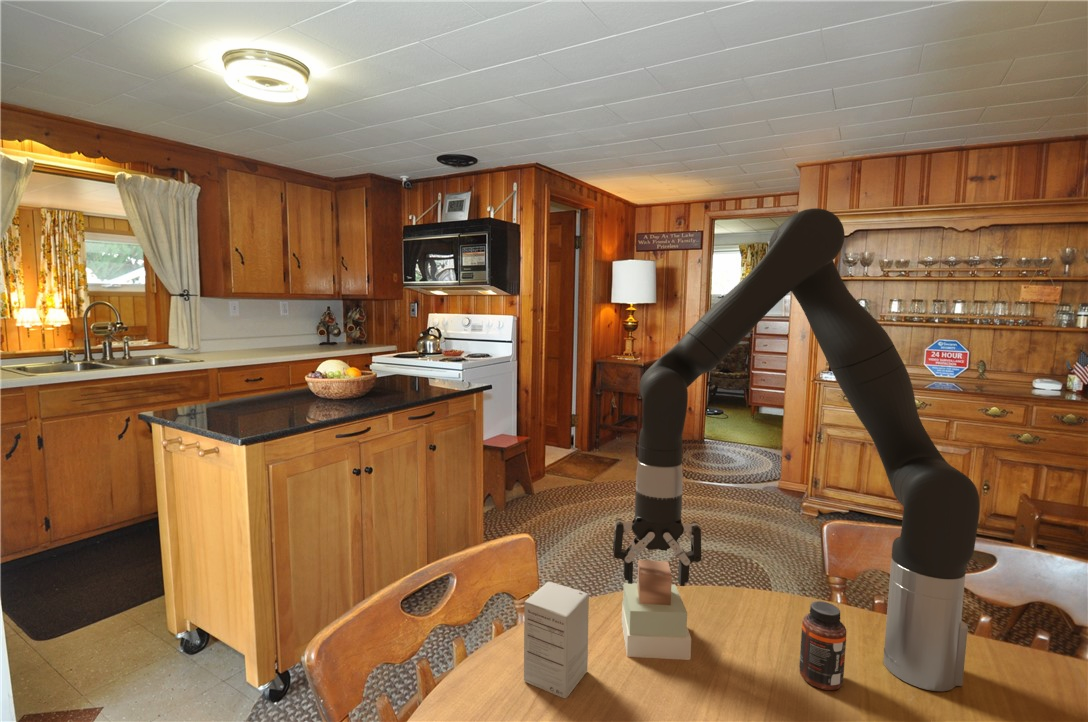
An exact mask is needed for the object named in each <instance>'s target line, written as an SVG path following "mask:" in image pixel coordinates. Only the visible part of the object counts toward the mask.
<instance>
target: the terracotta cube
mask: <svg viewBox="0 0 1088 722" xmlns="http://www.w3.org/2000/svg"><path fill="white" fill-rule="evenodd" d="M637 562H638V563H637V582H636V583H637V589H638V596H639V603H643V604H658V605H671V586H672V584H673V583H672V581H673V580H672V579H673V576H672V572H671V568H670V565H669V564H670V563H669V561H663V560H661V561H660V560H646V559H638V561H637Z"/></svg>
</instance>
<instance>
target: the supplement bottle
mask: <svg viewBox="0 0 1088 722" xmlns="http://www.w3.org/2000/svg"><path fill="white" fill-rule="evenodd" d="M841 619H842V618H841V610H840V608H838V607H837V605H834V604H832V603H830V602H826V601H821V600H817V601H816V600H815V601H812V602H811V603H810V609H809V613H807V614H805V615H804V617H803V618H802V623H801V635H800V637H801V638H800V650H799V651H800V652H799V654H800V655H799V674H800V676H801V677H802V679H804V681H806V683H808V684H809V685H811V686H813V687H816V688H818V689H822V690H826V691H836V690H839V689H840V688H841V687H842V686H843V682H844V675H845V661H846V650H847V649H846V647H847V645H846V644H847V629H846V626H845V625H844V623H843V622H842V621H841Z"/></svg>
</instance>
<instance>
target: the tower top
mask: <svg viewBox="0 0 1088 722" xmlns="http://www.w3.org/2000/svg"><path fill="white" fill-rule="evenodd" d="M622 587H623V588H622V589H623V592H622V593H623V595H622V596H623V597H622V602H623V607H624V612H625V616H626V621H627V625H628V630H629V634H630V635H648V636H680V637H686V633H687V628H688V611H687V608H686V606H685V604H684V601H683V600H682V597H681V595H680V592H679V590H678V588H677V585H676V584H673V583H672V586H671V605H658V604H643V603H639V596H638V589H637V582H633V583H632V584H628V582H623V586H622Z"/></svg>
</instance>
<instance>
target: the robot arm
mask: <svg viewBox="0 0 1088 722" xmlns="http://www.w3.org/2000/svg"><path fill="white" fill-rule="evenodd" d="M845 237H846V236H845V229H844V226H843V223H842V221H841V219H840V218H839V217H838V216H837V215H836V214H834V213H833V212H831V211H829V210H827V209H825V208H824V209H823V208H817V207H816V208H807V209H803V210H800V211H798V212H796V213H794V214H792V215H791V216H789V217H788V218H787V219H785V220H784V221H783V222H782V223H781V224H780V225H779V226H778V227H777V228H776V229H775V230H774V231H773V232H772V235H771V237H770V239H769V242H768V251H767V252H766V253H765V254H764V256H763V257H762V259H760V261H759V262H758V263H756V265H755V266H754V268H752V270H751V271H750V272H749V273H748V274H747V275H746V276H745V277H744V278H743V279H742V280H740V282H738V283H737V284H736V285H735V286H734V287H733V288H732V289H731V290H730V291H729V292H728V293H726V294H725V295H723V297H722V298H721V299H720V300H719V301H717V302H716V303H715V304H714V305H713V306H712V307H711V308H710V309H708V310H707V311H706V313H704V314H703V316H701V317H700V319H698V321H696V322H695V323H694V324H693V326H692V327H691V328H689V330H688V331H687V332H686V333H685V334H684V335H683V336H682V338H681V339H680V340H679V341H678V342H677V344H675V345H674V346H673V347H671V348H670V349H669V350H668V351H667V352H665V353H664V354H663V355H662V356H660V358H658V359H657V360H656V361H655V362H654V363H653V364H652V365H651V366H650V367H649V368H648V369H647V370H646V371H645V372H644V374H642V376H641V378H640V381H639V385H638V390H639V394H640V397H641V399H642V426H641V427H642V428H641V429H640V430H639V436H638V459H637V460H638V461H637V467H636V473H635V474H636V475H635V497H634V498H635V499H634V500H635V501H634V517H633V520H632V521H627V520H625V521H624V520H623V519H622V518H616V520H615V523H614V531H613V532H614V534H613V544H612V552H613V558H615V559H620V560H622V562H623V570H622V571H623V572H622V573H623V577H624V580H625V581H627V583H628V584H632V583H634V582H633V580H634V579H633V578H634V562H633V560H634V559H635V557H636V556H637V555H639V554H641V552H643V550H644V549H645V548H646V549H647V550H648V551H655V550H660V551H666V552H667V551H668V550H669V549H671V550H672V551H673V552H674V554H675V555H676V556H677V558H678V573H677V575H678V576H677V581H678V582H677V583H678V584H679V586H680V587H685V586H686V584H687V583H688V582H689V580H690V566H691V564H692V563H695V562H696V563H700V562H701V561H702V529H701V527H700V526H699V523H698V522H697V521H695V520H694V521H693V520H692V521H691V522H690V523H682V507H683V490H684V484H683V481H684V480H683V479H684V475H683V464H682V463H683V432H684V429H685V428H684V427H685V423H686V417H687V411H688V402H689V401H688V399H689V394H688V388H689V387H690V386H691V385H692V384H693V383H694V382H695V381H696V380H697V379H698V378H699V377H700V376H702V375H704V374H707V373H709V372H712V370H714V369H715V368H716V367H717V366H719V364H720V363H721V362H722V361H723V360H724V359H725V358H726V357H727V356H728V355H729V354H730V353H731V352H732V351H733V350H734V349H735V348H736V347H737V346H738V345H739V344H740V343H741V341H742V340H744V339H745V337H746V336H747V335H748V334H749V333H750V332H751V331H752V330H753V329H754V328H755V327H756V326H757V325H758V323H760V322H761V320H763V318H764V317H765V316H766V315H767V314H768V313H769V312H770V311H771V310H772V309H773V308H774V307H775V306H777V304H778V303H779V302H781V300H783V298H785V297H786V296H787V295H789V293H790V292H791V293H792V294H793V296H794V297H795V299H796V300H797V302H798V304H799V305H800V307H801V309H802V310H803V313H804V315H805V318H806V319H807V322H808V323H809V324H808V325H809V326H810V329H811V330H812V332H813V333H812V334H813V335H814V338H815V339H816V342H817V343H818V344H819V345H818V346H819V347H820V350H821V351H822V354H823V356H824V357H825V360H826V361H827V364H828V366H829V368H830V370H831V372H832V375H833V376H834V378H835V380H836V382H837V383H838V386H839V388H840V389H841V390H842V393H843V394H844V396H845V397H846V400H847V401H848V403H849V405H850V406H851V408H852V410H853V411H854V413H855V415H856V416H857V417H858V420H859V421H860V423H861V424H862V426H863V427H864V428H865V429H866V431H867V433H868V434H869V436H870V438H871V440H872V442H873V443H874V446H875V448H876V450H877V453H878V456H879V458H880V461H881V463H882V465H883V468H884V471H885V474H886V477H887V479H888V482H889V484H890V487H891V490H892V492H893V495H894V496H895V498H896V499H897V501H898V503H899V504H900V505H902V508H903V509H902V510H903V514H902V521H901V530H900V536H897V537H896V538H895V539H894V540H893V541H892V546H891V557H890V559H891V561H890V569H889V570H890V571H889V585H888V586H889V587H888V594H887V595H888V597H887V598H888V599H887V607H886V608H887V611H886V621H885V623H886V624H885V634H884V647H883V664H884V666H885V667H886V669H887V670H888V671H889V672H890V673H891V674H892V675H893V676H895V677H896V678H898V679H900V680H901V681H903V682H905V683H907V684H909V685H911V686H914V687H917V688H920V689H923V690H927V691H933V692H946V691H951V690H953V689H954V688H955V687H963V684H964V673H965V664H966V663H965V662H966V653H967V641H968V632H969V631H968V630H969V627H968V625H967V623H966V622H964V621H963V620H962V616H963V605H964V603H963V602H964V596H965V595H964V593H965V592H964V591H965V583H966V582H965V581H966V573H967V566H968V564H969V563H970V561H971V560H972V558H973V556H974V552H975V549H976V548H975V546H976V539H977V533H978V527H979V526H978V525H979V519H980V507H981V504H980V502H981V501H980V495H979V491H978V489H977V486H976V485H975V483H974V482H973V481H972V480H971V478H970V477H968V476H967V475H966V474H964V473H963V472H962V471H960V470H959V469H958V468H955V467H953V466H952V465H951V464H950V463H948V461H946V459H945V458H944V457H943V455H942V454H941V452H940V451H939V450H938V448H937V446H936V445H935V443H934V442H933V440H932V439H931V437H930V435H929V434H928V432H927V431H926V429H925V426H924V425H923V423H922V421H921V417H920V415H919V413H918V411H919V410H918V408H917V407H918V406H917V402H916V398H915V397H916V396H915V392H914V388H913V384H912V380H911V378H910V374H909V372H908V370H907V367H906V365H905V364H904V361H903V360H902V358H901V356H900V354H899V351H898V350H897V348H896V346H895V343H894V342H893V341H892V339H891V337H890V336H889V333H888V332H887V331H886V330H885V329H884V328H883V326H882V325H881V324H880V323H879V322H878V321H877V319H876V318H874V316H873V315H872V314H871V313H870V312H869V311H868V310H867V309H866V308H865V307H864V306H863V305H862V304H861V303H860V302H859V301H858V300H857V299H856V298H855V297H854V296H853V295H852V293H851V292H850V291H849V289H848V287H846V285H845V282H844V281H843V279H842V276H841V275H840V274H841V273H840V272H839V270H838V268H837V266H836V264H835V261H834V260H835V259H836V258H837V256H838V255H839V253H841V250H842V249H843V246H844V244H845ZM630 530H632V532H633V535H635V536H634V537H633V538H632V539H631V541H630V543H629V545H628V546H627V547H626V548H625V549H624V548H623V539H624V536H626V535H628V532H629V531H630ZM684 532H685V533H686V535H687V537H688V538H689V539H690V551H687V552H686V550H684V548H683V547H682V544H680V542H679V541H678V540H680V537H682V535H683V534H684Z"/></svg>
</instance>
